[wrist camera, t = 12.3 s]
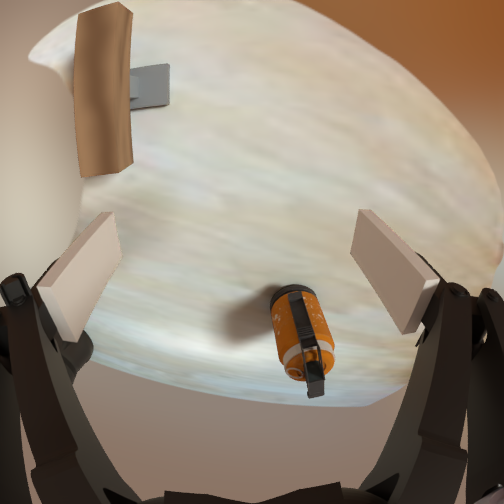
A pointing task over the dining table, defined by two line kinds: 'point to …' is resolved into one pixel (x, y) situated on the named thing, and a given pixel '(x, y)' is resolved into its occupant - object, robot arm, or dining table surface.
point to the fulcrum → (149, 86)
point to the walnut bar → (103, 90)
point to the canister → (302, 337)
